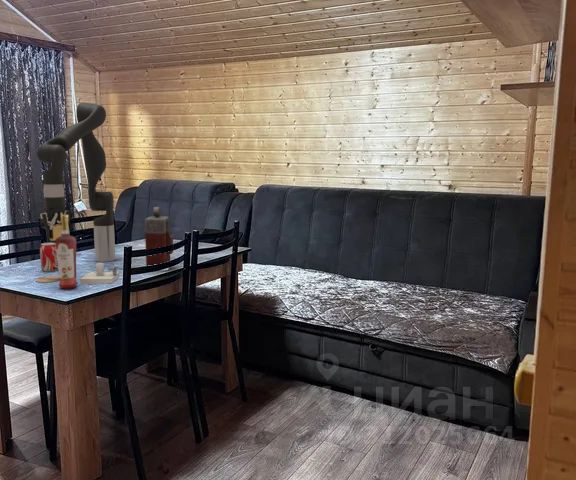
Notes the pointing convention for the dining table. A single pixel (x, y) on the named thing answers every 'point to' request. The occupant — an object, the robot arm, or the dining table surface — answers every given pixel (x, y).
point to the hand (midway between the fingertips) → (56, 237)
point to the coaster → (47, 279)
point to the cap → (56, 231)
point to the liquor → (66, 256)
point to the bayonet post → (100, 275)
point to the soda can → (48, 257)
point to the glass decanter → (157, 237)
